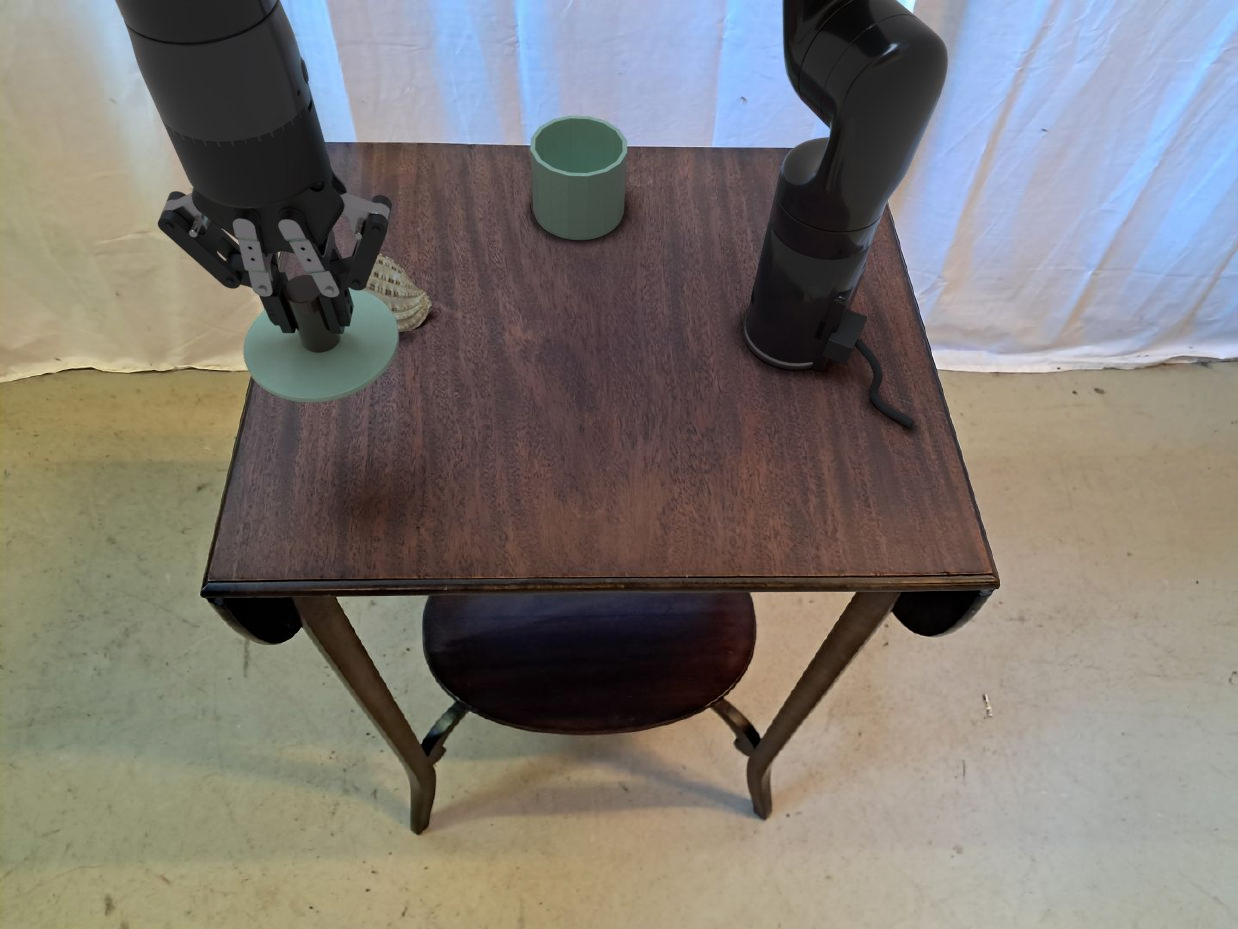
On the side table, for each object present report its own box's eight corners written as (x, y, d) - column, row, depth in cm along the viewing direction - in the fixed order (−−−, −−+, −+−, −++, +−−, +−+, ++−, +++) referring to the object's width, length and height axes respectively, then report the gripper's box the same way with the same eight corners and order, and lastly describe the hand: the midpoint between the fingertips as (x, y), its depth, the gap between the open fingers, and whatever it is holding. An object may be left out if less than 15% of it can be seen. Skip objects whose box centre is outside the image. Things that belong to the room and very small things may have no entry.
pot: (622, 181, 101) (626, 116, 94) (624, 241, 96) (628, 176, 89) (535, 179, 101) (532, 114, 94) (531, 239, 95) (528, 174, 88)
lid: (408, 296, 65) (394, 234, 60) (390, 409, 59) (373, 350, 54) (265, 295, 64) (239, 231, 59) (232, 407, 58) (200, 348, 53)
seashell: (431, 304, 93) (338, 262, 90) (449, 268, 88) (352, 223, 85) (411, 358, 89) (313, 317, 85) (429, 324, 84) (326, 279, 81)
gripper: (68, 133, 43) (197, 366, 57) (359, 139, 43) (414, 368, 58) (115, 46, 47) (224, 283, 61) (380, 52, 47) (426, 286, 62)
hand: (316, 323), depth 59 cm, fingers closed on lid, 2 cm apart
